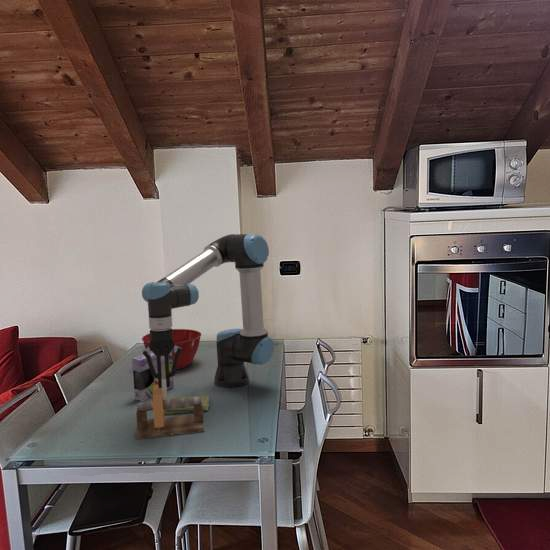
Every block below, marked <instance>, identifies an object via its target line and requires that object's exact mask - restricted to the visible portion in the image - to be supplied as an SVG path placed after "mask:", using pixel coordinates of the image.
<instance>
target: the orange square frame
mask: <svg viewBox="0 0 550 550" xmlns="http://www.w3.org/2000/svg"><path fill="white" fill-rule="evenodd" d="M163 400H165V398H163V396H162V388H159V386H158V385H154V388H153V397H152V401H153V411H152V412H153V419H154V427H155V428H158V427H164V418H165V415H164V409H163Z"/></svg>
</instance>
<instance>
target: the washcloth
mask: <svg viewBox="0 0 550 550" xmlns="http://www.w3.org/2000/svg"><path fill="white" fill-rule="evenodd" d="M191 397H201V402H202V405H203V413H204V412H208V411H209V407H210V395H209V396H208V395H200V394H198V395H188V396H175V397H174V396H170V397H167V398H164V400H172V399H181V398H191ZM190 412H192V413H194V406H191V407H181V408H172V409H164V414H167V415H169V414H171V415H181V414H180V413H184V414H190ZM167 415H166V416H167Z"/></svg>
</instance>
